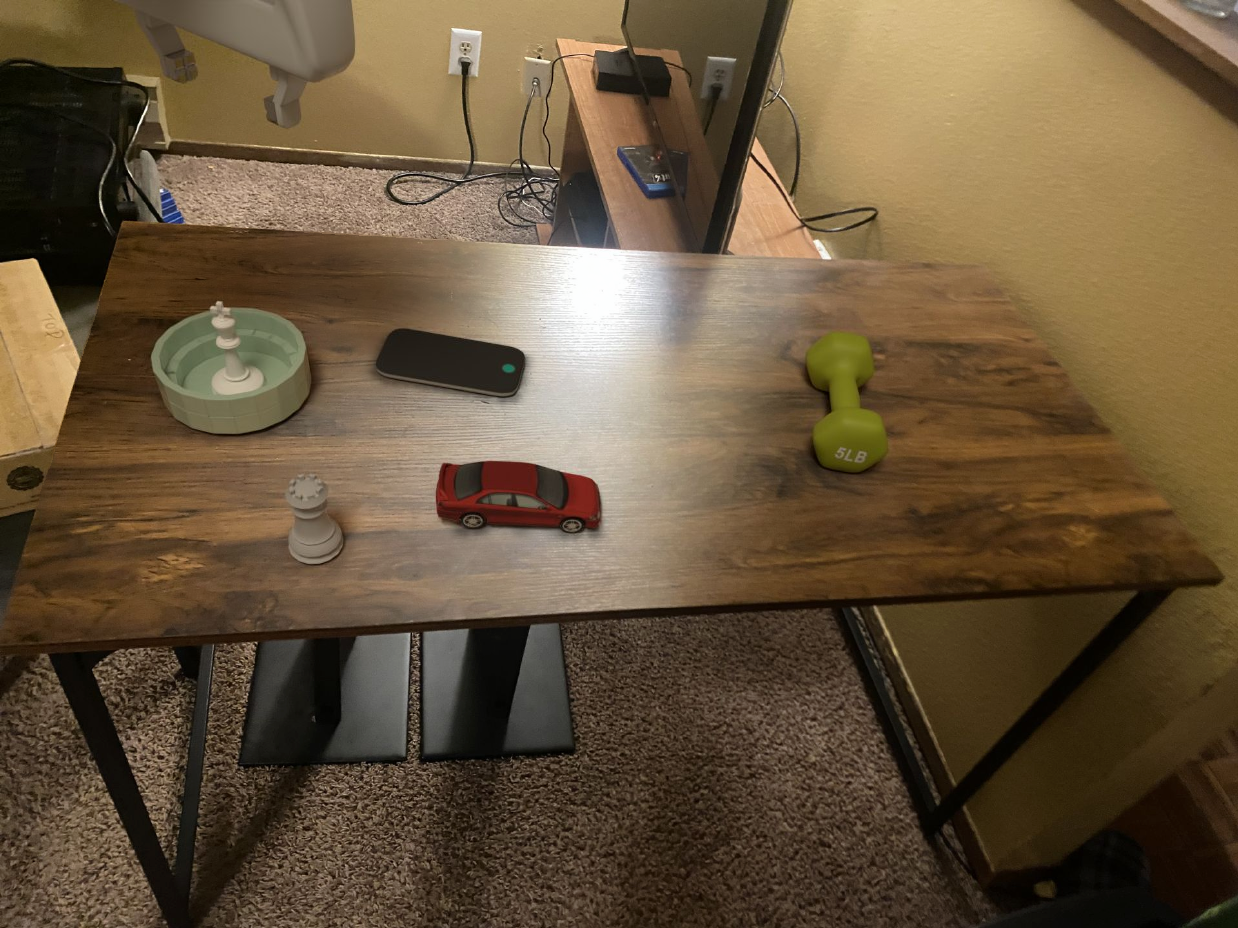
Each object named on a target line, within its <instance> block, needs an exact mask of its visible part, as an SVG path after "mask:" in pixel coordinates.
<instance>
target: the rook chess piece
mask: <svg viewBox="0 0 1238 928" xmlns="http://www.w3.org/2000/svg"><path fill="white" fill-rule="evenodd" d="M288 484H289V485H288V487H287V488H286V489H285V494H284V498H285V500H286V502H287V503H288V504H289V505H290V510H291V512H292V514H293V515H294V523H293V524H292V525H291V528H290V529H289V532H288V538H287V543H288V550H289V552H290V555H291V556H292V557H293V558H294V559H296V560H297V561H298V562H300V563H303V564H308V565H321V564H322V563H326V562H328V561H331V560H332V559H333V558H334V557H336V556H337V555H338V554H339V553H340V551H341V550H342V548H343V546H344V535H343V534H342V529H341V527H340V526H339V523H338V522H337V521H336V520H335V519H333V518H332V517H331V516H330V515H328V512H327V508H328V500H327V498H328V496H329V488H328V486H327V484H326V483H325V482H324V481H323V480H322V479H321V478H317V475H316V474H314V473H309V474H308V476H305V473H299V474H297V479H295V478H291V479H290V481H289V482H288Z"/></svg>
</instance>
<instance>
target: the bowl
mask: <svg viewBox="0 0 1238 928" xmlns="http://www.w3.org/2000/svg"><path fill="white" fill-rule="evenodd" d="M230 308H231V311H232V313H231V314H230V315H231V316H233V317H234V318H235V327H234V334H236V335H238V336H239V338H240V339H241V342H240V344H239V345H238V346H237V347H236V349H237V352H238V354H239V357H240V359H241V362H242V364H246V365H251V366H254V367H256V368H258V369H259V370H260V371H261V372H262V373H263V375H264V378H265V380H266V386H263V387H261V388H258V389H256V390H253V391H249V392H243V393H237V394H232V395H214V393H213V391H212V385H211V381H212V378H213V376H214V375H215V374H216V373H217V372H218V371H219V370H221V369H222V368H224V367H226V361H225V351H224V349H222V348H220V347H218V346H217V345H216V339H217V337H218V336H220V335H219V334H218V332H217V330H216V329H215V328H214V327H213V325H212V323H211V321H212V319H213V318H214V317H215V316H217V315H218V313H211V311H210V309H209V310H206V311H203V312H200V313H197V314H194V315H191V316H188V317H186V318H184V319H182V320H180V321H179V322H177V323H176V324H174V325H172V326H170V327H169V328H168V329H167V330H166V331H165V332H164V333H163V334H162V335H161V336H160V337H159V338H158V339H157V340H156V342H155V344H154V347H153V349H152V352H151V355H150V361H151V366H152V372H153V375H154V378H155V381H156V384H157V386H158V389H159V393H160V396H161V398H162V401H163V404H164V406H165V408H166V409H167V410H168V412H169V413H170V414H171V415H172V417H173V418H174V419H175V420H177V421H178V422H180V423H182V424H184V425H186V426H188V427H189V428H191V429H195V430H198V431H201V432H207V433H211V434H223V435H224V434H227V435H229V434H231V435H238V434H239V435H240V434H244V433H250V432H255V431H260V430H264V429H266V428H268V427H270V426H274V425H275V424H278V423H280V422H282V421H284V420H286V419H287V418H288V417H290V416H291V415H292V414H293V413H295V412H297V411H298V410H299V409H300V408H301V406H302V405H303V404H304V402H305V401H306V400H307V398H308V396H309V394H310V390H311V385H312V374H311V368H310V363H309V356H308V349H307V344H306V342H305V339H304V336H303V333H302V331H300V330H299V328H298V327H296V325H294V323H293V322H292V321H290V320H289V319H287V318H284V317H283V316H280V314H279V315H278V314H276V313H274V312H270V311H267V310H262V309H258V308H254V307H234V306H233V307H230Z"/></svg>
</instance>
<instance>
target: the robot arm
mask: <svg viewBox="0 0 1238 928" xmlns="http://www.w3.org/2000/svg"><path fill="white" fill-rule="evenodd" d="M113 2H116V3H119V4H120V5H124V6H126V7H128V8H131V9H133V10H134V13H135V17H136V21H137V24H138V26H139V27H140V29H141V30H142V32H143V33H144V35H145V37H146V38H147V40H148V42H149V43H150V45H151V46H152V48H153V50H154V51H155V53H157V55H158V59H159V63H160V67H161V71H162V75H163V76H164V77H166V78H168V79H170V80H172V81H174V82H177V83H180V84H187V83H188V82H193V81H195V80H197V78H198V77H199V72H198V68H197V66H196V64H197V61H196V57H195V53H194V52H192V51H191V50H188V49H186V48H185V45H184V43H183V40H182V38H181V37H180V35H179V32H178V30H177V28H178V29H181V30H184V31H186V32H188V33H191V34H193V35H196V36H198V37H200V38H203V39H205V40H207V41H210V42H213V43H215V44H218V45H220V46H223V47H224V48H227V49H229V50H232V51H234V52H237V53H239V54H242V55H244V56H246V57H248V58H252V59H254V60H256V61H259V62H261V63H263V64H266V65H268V69H269V74H270V78H271V80H273V81H275V82H277V85H276V90H275V92H274V94H271V95H268V96H266V97H264V98H263V104H264V109H265V111H266V114H265V116H266V120H267V121H268V122H269V123H272V124H274V125H277V126H278V127H281V128H282V129H285V130H289V129H291V128H293V127H296V126H298V125H299V124H300V123H301V121H302V111H301V103H300V98H301V97H302V95H303V93H304V91H305V88H306V86H307V85H308V82H309V83H313V84H314V83H315V84H316V83H320V82H322V81H325V80H328V79H330V78H333V77H335V76H337V75H339V74H341V73H343V72H344V71H346V70H348V68H349V66H350V65H351V63H352V62H353V60H354V59H355V55H356V35H355V33H356V32H355V23H354V21H355V20H354V11H353V4H352V3H353V2H352V0H113Z"/></svg>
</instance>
